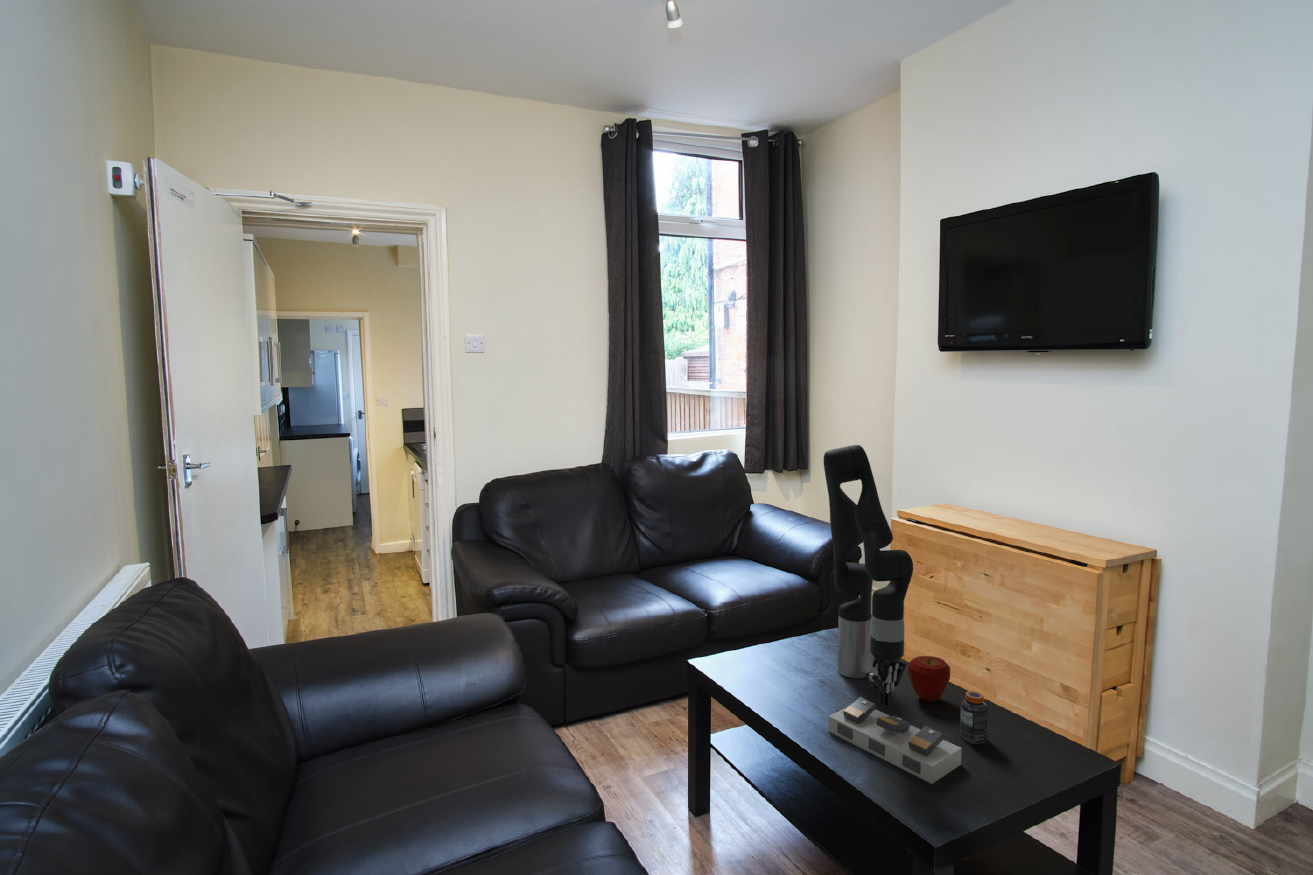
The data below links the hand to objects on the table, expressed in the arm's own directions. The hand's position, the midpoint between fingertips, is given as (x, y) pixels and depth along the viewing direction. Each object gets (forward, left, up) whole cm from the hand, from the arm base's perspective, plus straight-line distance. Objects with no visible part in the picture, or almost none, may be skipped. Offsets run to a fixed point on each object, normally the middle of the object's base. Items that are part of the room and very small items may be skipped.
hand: (885, 705), depth 161 cm
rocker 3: (-3, +9, -7) cm, 12 cm away
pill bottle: (-22, +10, -11) cm, 27 cm away
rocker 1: (-3, -9, -7) cm, 12 cm away
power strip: (-3, 0, -11) cm, 11 cm away
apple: (-32, -8, -11) cm, 35 cm away
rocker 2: (-3, 0, -7) cm, 8 cm away
